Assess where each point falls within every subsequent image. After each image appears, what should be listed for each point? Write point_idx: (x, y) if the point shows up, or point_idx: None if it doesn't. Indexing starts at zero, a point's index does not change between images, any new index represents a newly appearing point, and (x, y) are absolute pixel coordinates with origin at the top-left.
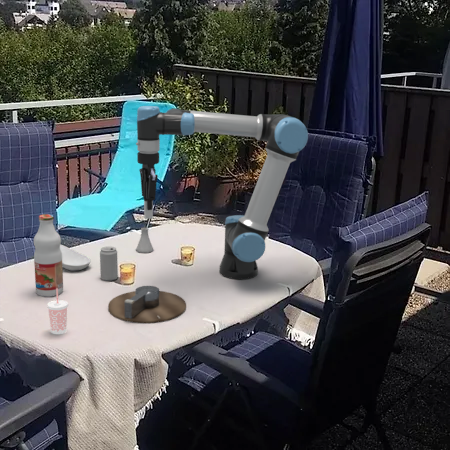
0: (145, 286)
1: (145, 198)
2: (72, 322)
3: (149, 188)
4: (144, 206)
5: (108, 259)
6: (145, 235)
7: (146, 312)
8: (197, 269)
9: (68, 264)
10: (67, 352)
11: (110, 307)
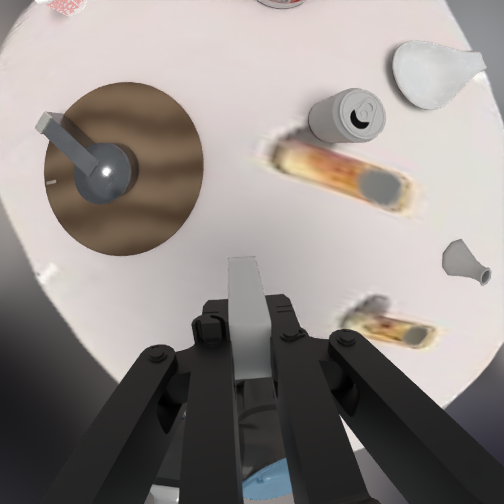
0: (123, 173)
1: (271, 341)
2: (97, 20)
3: (78, 446)
4: (255, 292)
5: (327, 107)
6: (472, 271)
7: None
8: (312, 333)
9: (426, 67)
10: (11, 34)
11: (121, 86)
